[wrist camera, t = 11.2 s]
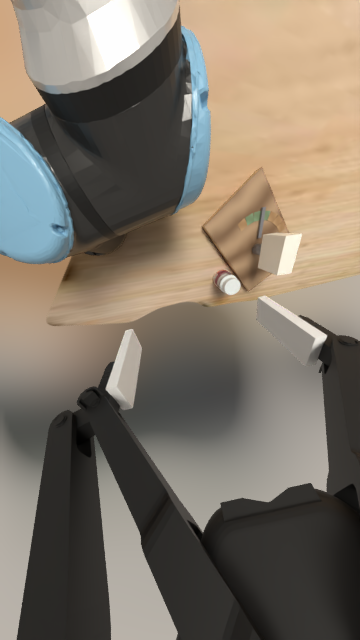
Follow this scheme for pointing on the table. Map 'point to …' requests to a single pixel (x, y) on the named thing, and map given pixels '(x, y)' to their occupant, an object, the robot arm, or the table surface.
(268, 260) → the white boxy piece
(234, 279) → the pill bottle
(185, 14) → the table surface
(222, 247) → the board
